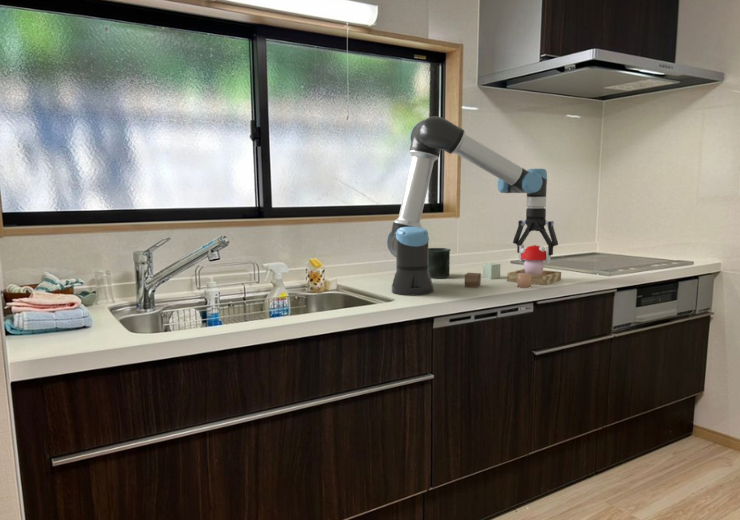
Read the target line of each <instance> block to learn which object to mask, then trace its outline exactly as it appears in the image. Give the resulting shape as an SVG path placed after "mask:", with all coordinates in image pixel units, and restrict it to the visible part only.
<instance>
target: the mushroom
mask: <svg viewBox="0 0 740 520" xmlns="http://www.w3.org/2000/svg"><path fill="white" fill-rule="evenodd" d="M545 249H546V248H545V247H544V246H540V245H536V244H534V245H533V244H532V245H529V246H527V247H526V248H525V247H524V248H522V249H521V253H522V256H521V258H522V259H524V263H523V269H525V273H529V274H531V275H536V276H539V275H542V272H543V270H544V267H545V266H544V265H545V264H544V261H546V250H545Z"/></svg>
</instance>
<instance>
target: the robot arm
mask: <svg viewBox="0 0 740 520" xmlns="http://www.w3.org/2000/svg"><path fill="white" fill-rule="evenodd" d="M441 151H444V152H446V153H448V154H450V155H452V154H456V155H458V157H460V158H462V159H465V160H466V161H468V162H469V163H471V164H472V165H475V166H476V167H479V168H480V169H481V170H483V171H485V172H487V173H488V174H490V175H492V176H494V177H496V178H497V190H498V191H499V193H501V194H526V204H525V205H526V209H525V210H526V212H525V213H526V215H525V217H526V219H525V220H522V219H521V220H518V226H517V228H516V232H515V234H514V239H513V241H512V243H513V244H515V245H516V246H517V247H516V251H517V254H518V262H519V263H520V262H525V259H522V258H521V256H522V253H521V249H522V248H525V245H523V244H524V242H525V240H527V237H529V235H530V233H531V232H540V234H541V235H542V237H543V239H544V241H545V243H546V244H547V247H546V248H545V249H546V250H545V251H546V260H545V264H546V265H547V264H551V261H552V260H551V259H552V258H551V257H552V256H553V255H554V247H556V246H559V242H558V238H557V235H556V232H555V228H554V221H553V220H552V221H551V220H550V221H548V220H546V216H547V215H546V214H547V210H546V209H547V208H546V207H547V184H548V172H547V170H546V169H545V168H529V169H525V168H523V167H521V166H520V165H518V164H517V163H515V162H513V161H512V160H509V158H506V157H504V156H503V155H501V154H500V153H498V152H496V151H495V150H493V149H491V148H490V147H488V146H486V145H484V144H483V143H481V142H480V141H477V140H476V139H474V138H472V137H470V136H469V135H467V134H466V131H465V130H464V129H463V128H461V127H460V126H458V125H456V124H454V123H453V122H451V121H449V120H448V119H446V118H444V117H441V116H437V115H436V116H434V115H433V116H429V117H427V118H425V119H422V120H421V121H418V122H417V123H416V124H415V125H414V126H413V128H412V130H411V132H410V147H409V151H408V152H409V154H410V156H411V159H410V165H409V170H408V174H407V178H406V183H405V188H404V191H403V196H402V200H401V203H400V210H399V214H398V218H396V219H395V220H393V223H392V227H391V231H390V232H389V234H388V236H387V238H386V245H387V249H388V251H389V252H390V254H391V255H392V256H393V257H395V258H396V264H395V265H396V272H395V273H394V278H393V280H392V283H391V293H394V294H396V295H397V294H398V295H403V296H421V295H428V294H432V293H433V292H434V286H433V282H432V278H430V275H429V272H428V248H429V242H430V241H429V240H430V237H429V232H428V229H426V228H424V227H423V226H422V223H421V220H422V215H423V210H424V206H425V202H426V197H427V193H428V190H429V185H430V180H431V176H432V172H433V168H434V163H435V162H436V161H437V160H439V158H440V155H441ZM525 225H526V228H525V230H524V232H523V229H524V227H525ZM545 226H546V227H547V228H548V232H547V230H546V228H545ZM522 232H523V233H522ZM548 233H549V234H548Z"/></svg>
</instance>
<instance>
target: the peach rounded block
mask: <svg viewBox="0 0 740 520" xmlns="http://www.w3.org/2000/svg"><path fill="white" fill-rule="evenodd" d="M516 283H517V288H519V287H520V289H530V288H529V287H531V288H532V284H531V274H529V273H518V282H516Z"/></svg>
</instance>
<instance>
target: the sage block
mask: <svg viewBox="0 0 740 520" xmlns="http://www.w3.org/2000/svg"><path fill="white" fill-rule="evenodd" d="M482 266H483V267H482V278H483V279H487V280H497V279H501V263H495V262H488V263H483V265H482Z"/></svg>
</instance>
